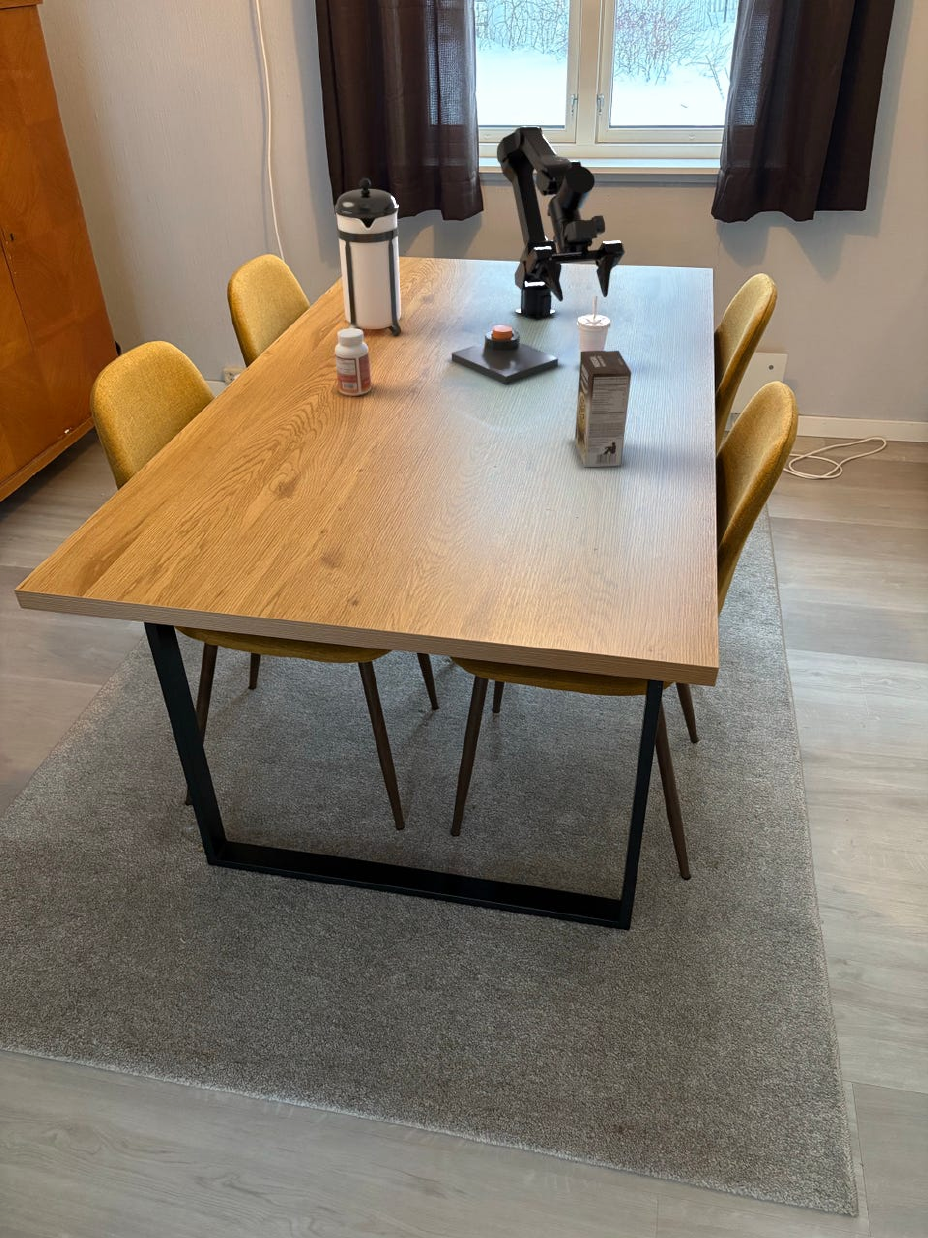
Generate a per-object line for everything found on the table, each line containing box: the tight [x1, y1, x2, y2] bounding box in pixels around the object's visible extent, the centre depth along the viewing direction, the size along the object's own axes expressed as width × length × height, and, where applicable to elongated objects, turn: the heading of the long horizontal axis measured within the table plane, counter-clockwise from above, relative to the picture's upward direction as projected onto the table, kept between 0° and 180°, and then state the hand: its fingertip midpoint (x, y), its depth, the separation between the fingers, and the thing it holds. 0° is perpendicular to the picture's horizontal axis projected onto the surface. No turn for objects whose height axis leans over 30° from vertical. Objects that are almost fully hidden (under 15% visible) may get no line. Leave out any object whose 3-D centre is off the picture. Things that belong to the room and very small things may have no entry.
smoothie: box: [576, 295, 612, 360], centre depth 180 cm, size 6×6×14 cm
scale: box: [451, 329, 559, 386], centre depth 186 cm, size 16×14×4 cm
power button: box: [492, 324, 514, 339], centre depth 190 cm, size 4×4×2 cm
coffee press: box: [334, 177, 402, 336], centre depth 195 cm, size 17×16×30 cm
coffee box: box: [574, 350, 632, 468], centre depth 151 cm, size 9×6×16 cm
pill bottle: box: [334, 327, 372, 397], centre depth 173 cm, size 6×6×11 cm
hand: (583, 298), depth 182 cm, fingers open, 9 cm apart
